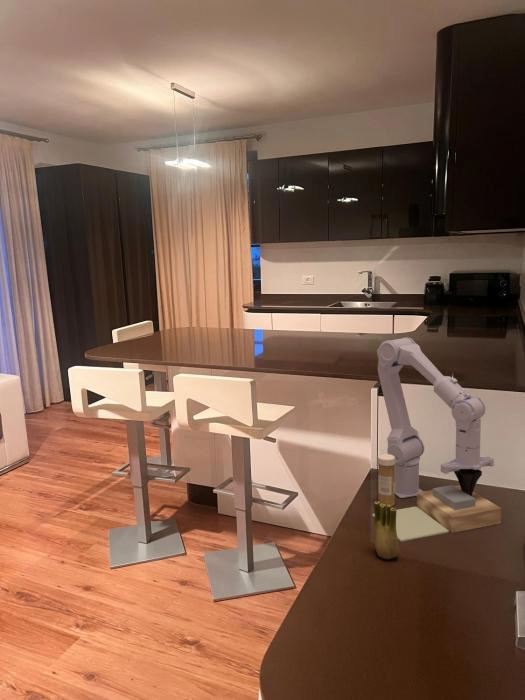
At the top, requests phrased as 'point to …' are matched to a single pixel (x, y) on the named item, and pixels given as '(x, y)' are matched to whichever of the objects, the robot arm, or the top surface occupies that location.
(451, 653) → the top surface
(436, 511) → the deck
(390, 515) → the fennel bulb
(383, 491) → the sprinkles bottle
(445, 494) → the grey rectangular block
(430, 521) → the mat
